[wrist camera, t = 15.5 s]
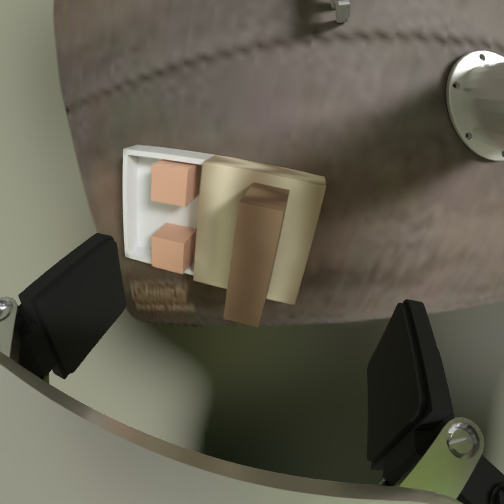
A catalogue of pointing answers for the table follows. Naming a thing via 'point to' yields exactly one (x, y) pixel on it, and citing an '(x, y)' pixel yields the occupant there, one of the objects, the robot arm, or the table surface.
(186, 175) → the pink cube
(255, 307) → the brown tapered block
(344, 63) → the table surface
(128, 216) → the tray
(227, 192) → the beige flat block
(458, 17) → the table surface
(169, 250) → the tan wooden cube
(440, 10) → the table surface
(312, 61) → the table surface
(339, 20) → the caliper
